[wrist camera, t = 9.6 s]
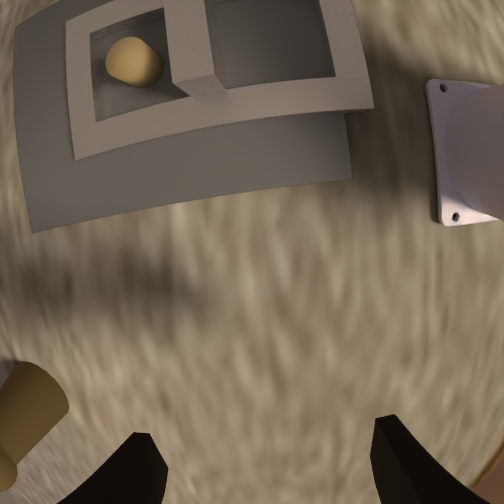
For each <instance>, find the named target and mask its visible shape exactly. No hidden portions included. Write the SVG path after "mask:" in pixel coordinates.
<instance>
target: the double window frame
mask: <svg viewBox="0 0 504 504" xmlns="http://www.w3.org/2000/svg"><path fill="white" fill-rule="evenodd" d="M241 1H248V0H114V1H112V2H109V3H107V4H104V5H102V6H99V7H97V8H95V9H92V10H90V11H88V12H86V13H83V14H81V15H79V16H77V17H75V18H73V19H71V20H69V21H66V73H67V91H68V104H69V115H70V124H71V133H72V141H73V149H74V156H75V160H86V159H90V158H94V157H97V156H100V155H104V154H107V153H111V152H114V151H118V150H122V149H125V148H129V147H133V146H137V145H141V144H145V143H149V142H153V141H157V140H162V139H166V138H171V137H175V136H180V135H184V134H189V133H194V132H199V131H205V130H210V129H215V128H221V127H227V126H233V125H239V124H245V123H252V122H259V121H266V120H274V119H282V118H291V117H300V116H310V115H321V114H334V113H349V112H367V111H369V110H372V109H374V102H373V96H372V91H371V85H370V80H369V75H368V70H367V65H366V60H365V55H364V51H363V47H362V42H361V38H360V34H359V30H358V26H357V22H356V18H355V14H354V11H353V7H352V4H351V0H313V2H314V6H315V10H316V14H317V18H318V22H319V26H320V31H321V35H322V40H323V44H324V49H325V54H326V59H327V64H328V69H329V74H330V77H329V78H314V79H302V80H292V81H282V82H274V83H266V84H258V85H251V86H245V87H238V88H232V89H228V86H227V80H226V73H225V67H224V60H223V54H222V47H221V41H220V34H219V28H218V21H217V15H216V8H215V6H217V5H223V4H228V3H234V2H241ZM162 18H165V23H166V33H167V42H168V51H169V59H170V67H171V75H172V83H173V84H174V85H176V86H177V87H179V88H180V89H181V90H183V91H184V92H186V93H187V94H188V95H190V96H191V97H186V98H182V99H177V100H173V101H169V102H165V103H161V104H157V105H153V106H149V107H146V108H142V109H138V110H135V111H131V112H128V113H125V114H121V115H118V116H115V117H112V118H108V119H107V117H106V108H105V99H104V89H103V77H102V64H101V47H100V39H103V38H105V37H108V36H111V35H113V34H116V33H119V32H122V31H124V30H127V29H130V28H133V27H136V26H139V25H142V24H145V23H149V22H152V21H155V20H159V19H162Z"/></svg>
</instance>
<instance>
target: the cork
mask: <svg viewBox="0 0 504 504" xmlns="http://www.w3.org/2000/svg"><path fill="white" fill-rule="evenodd" d="M68 410H69V404H68V400H67V397H66V395H65V393H64V391H63V390H62V388H61V387H60V386H59V384H58V383H57V382H56V381H55V380H54V379H53V378H52V377H51V376H50V375H49V374H48V373H47V372H46V371H44V370H43V369H42V368H40V367H39V366H37V365H35V364H32V363H30V362H20V363H18V364H17V365H16V367H15V368H14V370H13V371H12V372H11V374H10V375H9V377H8V378H7V380H6V381H5V382H4V384H3V385H2V387H1V388H0V492H3V491H6V490H8V489H9V488H10V487H12V486H13V484H14V483H15V481H16V478H17V464H18V463H19V462H20V461H21V460H22V459H23V458H24V457H25V456H26V455H27V454H28V453H29V452H30V451H31V449H32V448H33V447H34V446H35V445H36V444H37V443H38V442H39V441H40V440H41V439H42V438H43V437H44V436H45V435H46V434H47V433H48V432H49V431H50V430H51V429H52V428H53V427H54V426H55V425H56V424H57V423H58V422H59V421H60V420H61V419H62V418H63V417H64V416H65V415H66V414H67V413H68Z"/></svg>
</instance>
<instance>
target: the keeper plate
mask: <svg viewBox="0 0 504 504" xmlns="http://www.w3.org/2000/svg"><path fill="white" fill-rule="evenodd" d="M112 1H114V0H60V1H59V2H57V3H55V4H53V5H51V6H49V7H48V8H46V9H44V10H42V11H41V12H39V13H37V14H36V15H34V16H32V17H31V18H29V19H27V20H26V21H24V22H23V23H21V24H19V25H18V26H16V28H15V42H14V71H13V83H14V112H15V127H16V138H17V148H18V156H19V164H20V171H21V177H22V183H23V189H24V195H25V200H26V205H27V210H28V215H29V220H30V224H31V228H32V233H36V232H40V231H44V230H48V229H52V228H57V227H61V226H65V225H70V224H74V223H79V222H83V221H88V220H92V219H97V218H102V217H107V216H111V215H116V214H121V213H126V212H131V211H137V210H142V209H147V208H152V207H158V206H163V205H169V204H175V203H180V202H186V201H192V200H198V199H204V198H210V197H217V196H223V195H230V194H236V193H243V192H250V191H257V190H265V189H272V188H280V187H287V186H295V185H304V184H312V183H321V182H330V181H340V180H350V179H353V176H352V167H351V159H350V151H349V143H348V136H347V129H346V122H345V115H344V113H334V114H321V115H310V116H300V117H291V118H282V119H274V120H266V121H259V122H252V123H245V124H239V125H233V126H227V127H221V128H215V129H210V130H205V131H199V132H194V133H189V134H184V135H180V136H175V137H171V138H166V139H162V140H157V141H153V142H149V143H145V144H141V145H137V146H133V147H129V148H125V149H122V150H118V151H114V152H111V153H107V154H104V155H100V156H97V157H94V158H90V159H86V160H75V156H74V149H73V141H72V133H71V124H70V115H69V104H68V91H67V73H66V21H69V20H71V19H73V18H75V17H77V16H79V15H81V14H83V13H86V12H88V11H90V10H92V9H95V8H97V7H99V6H102V5H104V4H107V3H109V2H112ZM215 8H216V15H217V21H218V28H219V34H220V41H221V47H222V54H223V60H224V67H225V73H226V80H227V86H228V89H232V88H238V87H245V86H251V85H258V84H266V83H274V82H282V81H292V80H302V79H314V78H329V77H330V74H329V69H328V64H327V59H326V54H325V49H324V44H323V40H322V35H321V31H320V26H319V22H318V18H317V14H316V10H315V6H314V2H313V0H248V1H241V2H234V3H228V4H223V5H217V6H215ZM100 47H101V64H102V77H103V89H104V99H105V108H106V117H107V119H108V118H112V117H115V116H118V115H121V114H125V113H128V112H131V111H135V110H138V109H142V108H146V107H149V106H153V105H157V104H161V103H165V102H169V101H173V100H177V99H182V98H186V97H191V96H190V95H188V94H187V93H186V92H184V91H183V90H181V89H180V88H179V87H177V86H176V85H174V84H173V83H172V75H171V67H170V59H169V51H168V42H167V33H166V23H165V18H162V19H159V20H155V21H152V22H149V23H145V24H142V25H139V26H136V27H133V28H130V29H127V30H124V31H122V32H119V33H116V34H113V35H111V36H108V37H105V38H103V39H100Z"/></svg>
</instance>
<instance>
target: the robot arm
mask: <svg viewBox="0 0 504 504" xmlns="http://www.w3.org/2000/svg"><path fill="white" fill-rule="evenodd" d="M440 85H442V86H443V88H444V92H442V91H441V90H440ZM425 88H426V94H427V99H428V105H429V112H430V119H431V126H432V134H433V142H434V152H435V162H436V175H437V192H438V219H439V222H440V224H442V225H443V226H446V227H450V226H458V225H466V224H474V223H482V222H490V221H498V220H502V221H504V84H501V85H497V86H494V85H488V84H480V83H473V82H464V81H455V80H444V79H431V80H428V81H427V82H426V85H425ZM454 213H456V218H455V219H454V220H452V215H453V214H454ZM370 459H371V465H372V470H373V476H374V481H375V484H376V488H377V491H378V494H379V497H380V501H381V504H490V503H489V502H487V501H486V500H484V499H483V498H481V497H479V496H478V495H476V494H475V493H474V492H472V491H471V490H470V489H468V488H467V487H465V486H464V485H463V484H462V483H460V482H459V481H458V480H457V479H456V478H454V477H453V476H452V475H451V474H450V473H449V472H448V471H447V470H445V469H444V468H443V467H442V466H441V465H440V464H439V463H438V462H437V461H436V460H435V459H434V458H433V457H432V456H431V455H430V454H429V453H428V452H427V451H426V450H425V449H424V448H423V446H422V445H421V444H420V443H419V442H418V441H417V440H416V439H415V438H414V436H413V435H412V434H411V433H410V432H409V431H408V429H407V428H406V427H405V426H404V424H403V423H402V422H401V421H400V420H399V418H398V417H397V416H396V415H394V414H393V415H389V416H384V417H380V418H376V419H375V426H374V433H373V440H372V446H371V452H370ZM167 475H168V467H167V465H166V463H165V461H164V459H163V458H162V456H161V454H160V452H159V450H158V449H157V447H156V445H155V443H154V441H153V439H152V437H151V435H150V433H137V432H133V433H132V434H131V435H130V436H129V438H128V439H127V440H126V441H125V442H124V443H123V444H122V445H121V446H120V447H119V448H118V449H117V450H116V451H115V452H114V453H113V454H112V455H111V456H110V457H109V458H108V460H107V461H106V462H105V463H104V464H103V465H102V466H101V467H100V468H99V469H98V470H97V471H96V472H94V473H93V474H92V475H91V476H90V477H89V478H88V479H87V480H86V481H85V482H84V483H82V484H81V485H80V486H79V487H78V488H77V489H76V490H74V491H73V492H72V493H71V494H69V495H68V496H67V497H65V498H64V499H63V500H61V501H60V502H58V503H57V504H162V500H163V497H164V493H165V488H166V482H167Z"/></svg>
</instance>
